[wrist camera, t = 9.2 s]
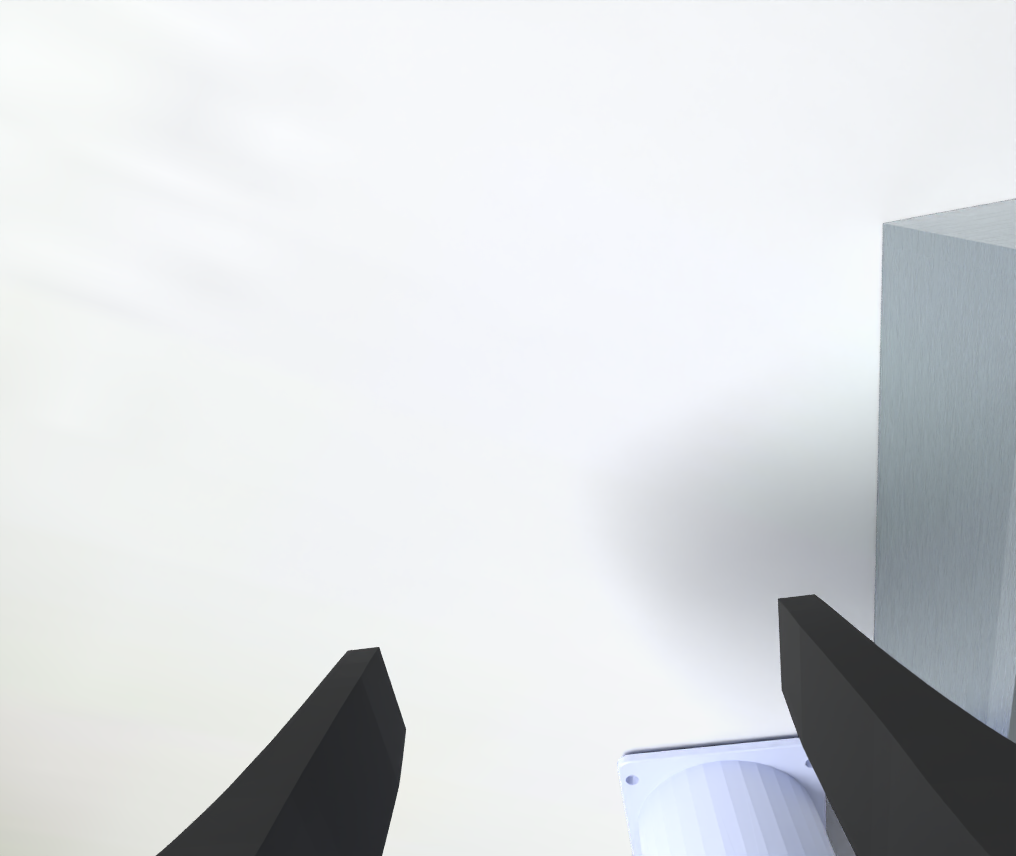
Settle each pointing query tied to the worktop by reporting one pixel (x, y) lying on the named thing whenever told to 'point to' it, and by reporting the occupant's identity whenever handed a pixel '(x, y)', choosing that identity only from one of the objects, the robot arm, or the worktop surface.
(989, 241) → the cash box
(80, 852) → the worktop surface
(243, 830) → the robot arm
